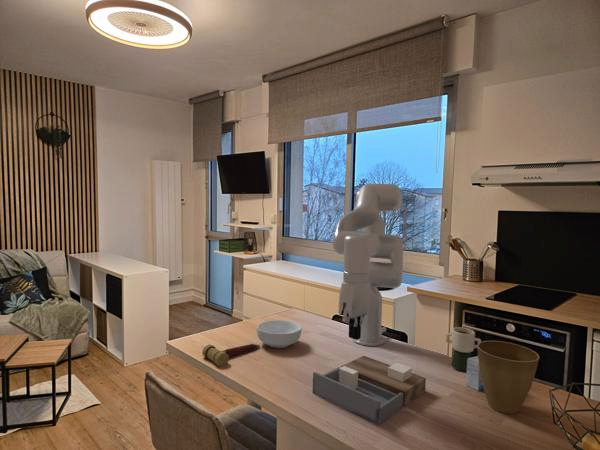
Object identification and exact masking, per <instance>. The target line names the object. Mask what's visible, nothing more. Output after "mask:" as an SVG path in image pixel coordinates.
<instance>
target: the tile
mask: <svg viewBox="0 0 600 450" xmlns="http://www.w3.org/2000/svg"><path fill="white" fill-rule="evenodd" d="M412 371H413V368H412V367H410V366H408V365H404V364H401V363H399V362H396V363H394V364H392V365H391V366H390V367H388V376H390V377H392V378H395V379H397V380H400V381H405V380H406V379H408V378H410V377H411V376H412V373H413V372H412Z"/></svg>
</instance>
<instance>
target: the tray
mask: <svg viewBox="0 0 600 450" xmlns="http://www.w3.org/2000/svg"><path fill="white" fill-rule="evenodd" d="M339 368H341V366H340V367H337V368H334V369H333V370H332V369H331V370H330V371H328V372H325V373H324V374H321V373H319V372H317V371H314V372H313V373H312V394H314V395H316V396H318V397H320V398H322V399H324V400H327V401H328V402H330V403H332V404H334V405H335V406H338V407H340V408H342V409H343V410H347V411H348V412H351V413H352V414H354V415H357V416H358V417H360V418H362V419H364V420H366V421H369V422H370V423H373V424H374V425H377V426H379V425H380V424H382V423H383V422H384V421H386V420H388V419H389V418H390V417H392V416H393V415H394V414H396V413H397V412H399V411H400V410H401V409H403V407H404V406H403V393H401V392H400V393H399V394H395V393H393V392H390V391H388V390H385V389H383V388H381V387H378V386H376V385H373V384H371V383H369V382H366V381H364V380H361V379H359V378H358V388H357V389H353V388H351V387H348V386H346V385H344V384H342V383H339Z"/></svg>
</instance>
